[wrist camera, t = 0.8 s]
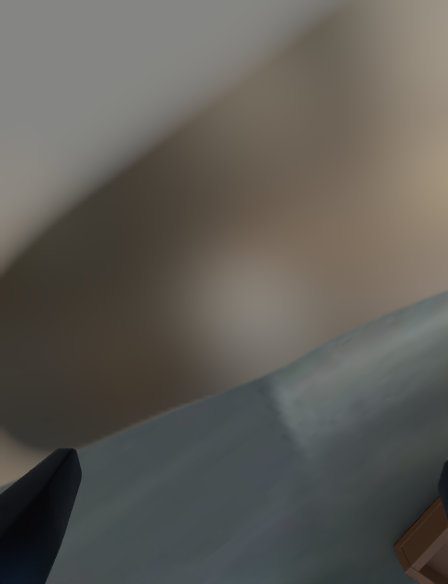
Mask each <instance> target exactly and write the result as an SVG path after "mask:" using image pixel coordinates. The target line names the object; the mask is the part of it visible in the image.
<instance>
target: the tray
mask: <svg viewBox="0 0 448 584" xmlns="http://www.w3.org/2000/svg"><path fill="white" fill-rule="evenodd" d="M393 548H394V550H395V552H396V554H397V556H398V558H399V561H400V563H401V565H402V567H403V569H404V572H405V573H406V574H407V575H409V576H410V577H412V578H413V579H414V580H416V581H417V582H419V583H420V584H448V520H447V516H446V513H445V510H444V507H443V504H442V501H441V498H440V496H439V497H438V498H437V500H436V501H435V502H434V503H433V504H432V505H431V506H430V507H429V508H428V509H427V510H426V512H425V513H424V514H423V515H422V516H421V517H420V518H419V519H418V520H417V521H416V523H415V524H414V525H413V526H412V527H411V528H410V529H409V530H408V531H407V532H406V533H405V535H404V536H403V537H402V538H401V539H400V540H399V541H398V542H397V543H396V544H395V546H394V547H393Z"/></svg>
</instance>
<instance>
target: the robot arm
mask: <svg viewBox="0 0 448 584" xmlns="http://www.w3.org/2000/svg"><path fill="white" fill-rule="evenodd" d="M81 478H82V471H81V467H80V463H79V459H78V455H77V452H76V450H75V449H73V448H59V449H57V450H55V451H54V452H53V453H52V454H50V455H49V456H48V457H47V458H45V459H44V460H43V461H42V462H40V463H39V464H38V465H37V466H36V467H34V468H33V469H32V470H30V471H29V472H28V473H27V474H25V475H24V476H23V477H22V478H20V479H19V480H18V481H17V482H15V483H14V484H13V485H12V486H10V487H9V488H8V489H7V490H5V491H4V492H3V493H2V494H0V584H45V583H46V580H47V578H48V576H49V573H50V571H51V568H52V566H53V564H54V561H55V559H56V556H57V554H58V551H59V549H60V546H61V543H62V540H63V537H64V534H65V531H66V528H67V525H68V521H69V518H70V515H71V512H72V508H73V505H74V502H75V499H76V495H77V492H78V489H79V486H80V482H81ZM438 490H439V495H440V498H441V501H442V504H443V507H444V510H445V513H446V516H447V520H448V460H447V461H445V463H444V465H443V469H442V473H441V476H440V480H439V484H438Z"/></svg>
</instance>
